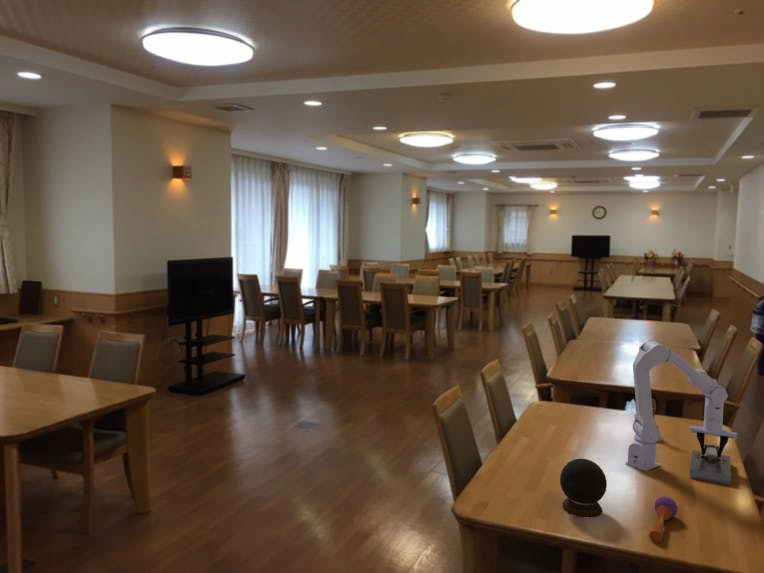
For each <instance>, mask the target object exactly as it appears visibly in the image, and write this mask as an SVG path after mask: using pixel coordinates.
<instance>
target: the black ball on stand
mask: <svg viewBox="0 0 764 573" xmlns="http://www.w3.org/2000/svg"><path fill="white" fill-rule="evenodd" d="M607 482H608V481H607V478H606V474H605V472H604V470H603V469H602V468H601V467H600V465H598V464H597V463H596V462H595V461H592V460H590V459H587V458H576V459H572V460H570V461H568V462H567V463H566V464H565V465H564V466H563V468H562V469H561V473H560V477H559V483H560V488H561V490H562V492H563V494H564V495H565V497H566V498H565V499H564V500H563V501H562V506H563V507H562V509H563V510H564V511H565V512H566V511H567V512H566V513H567V514H569V515H572V514H573V515H572V516H574V515H576V516H575V517H578V516H579V517H578V518H584V517H589V518H588V519H590V518H591V517H594V518H597V516H598V517H600V516H601V515H602V513H603V508H602V506H601V505H600V503H599V501H600V500H601V499H602V498H603V497H604V496H605V494H606V492H607V487H608V486H607V485H608V484H607Z"/></svg>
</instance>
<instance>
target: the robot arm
mask: <svg viewBox="0 0 764 573" xmlns="http://www.w3.org/2000/svg"><path fill="white" fill-rule="evenodd" d="M638 347H639V348H638V353H637V355H636V357H635V358H634V361H633V363H632V371H633V372H632V373H633V381H634V382H633V383H634V385H633V386H634V395H635V405H636V406H635V407H636V413H635V415H634V421H633V424H632V430H633V432H634V433H635V434H634V437H633V438H634V439H633V442H631V444H630V445H629V446H628V449H627V450H628V451H627V461H626V462H625V465H628V466H630V467H634V468H636V469H639V470H642V471H644V472H647V471H649V470H652V469H655V468H657V467H660V466H661V465H662V464H661V463H659V462H656V460H657V459H656V458H657V457H656V456H657V440H658V439H659V437H660V435H661V434H660V433H661V432H660V430H658V429H659V427H658V428H657V426H656V425H657V421H656V419H654V416H653V410H652V399H653V398H652V387H651V386H652V385H651V374H650V373H651V372H650V371H651V370H652V369H653V368H654V367H656V366H658V365H660V364H663V363H667V364H672V365H674V366H675V367H676V369H679V370H680V371H681V372H682V373H683V374H686V375H685V376H687V381H688V382H689V383H690V384H692V385H693V386H694V387H695V388H696V389H698V390H699V391H700V392H701V393H702V395H703V396H704V398H705V399H704V411H703V413H704V414H703V426H694V425H689V427H688V428H689V429H688V433H689V434H690V433H691V434H694V433H695V434H696V439H697V441H698V443H699V446H700V449H701V452H702V455H704V447H705V438H706V437H705V436H715V437H719V445H718V446H719V454H718V458H721V455H722V453H723V451H724V449H725V447H726V446H727V444H728V442H729V439H732V440H735V441H736V440H737V437H738V433H737V432H735V431H731V430H730V431H729V430H726V429H723V423H724V422H723V421H724V407H725V401H727V399H728V398H729V394H728V392H727V390H726V388H725V387H723V385H720V384H718V381H717V380H716V379H714V378H712V377H710V375H708V372H707V371H706V370H704V369H700V368H693V367H692V365H690V364H689V363H688V362H687V361H685V359H684V358H683V357H681V355H679V354H678V353H677V352H676V351H674V350H672V349H670V348H669V347H667V346H666V345H664V344H662V343H660V342H658V341H656V340H653V339H649V340H646V341H644V342H643V343H642V344H640V346H638Z"/></svg>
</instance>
